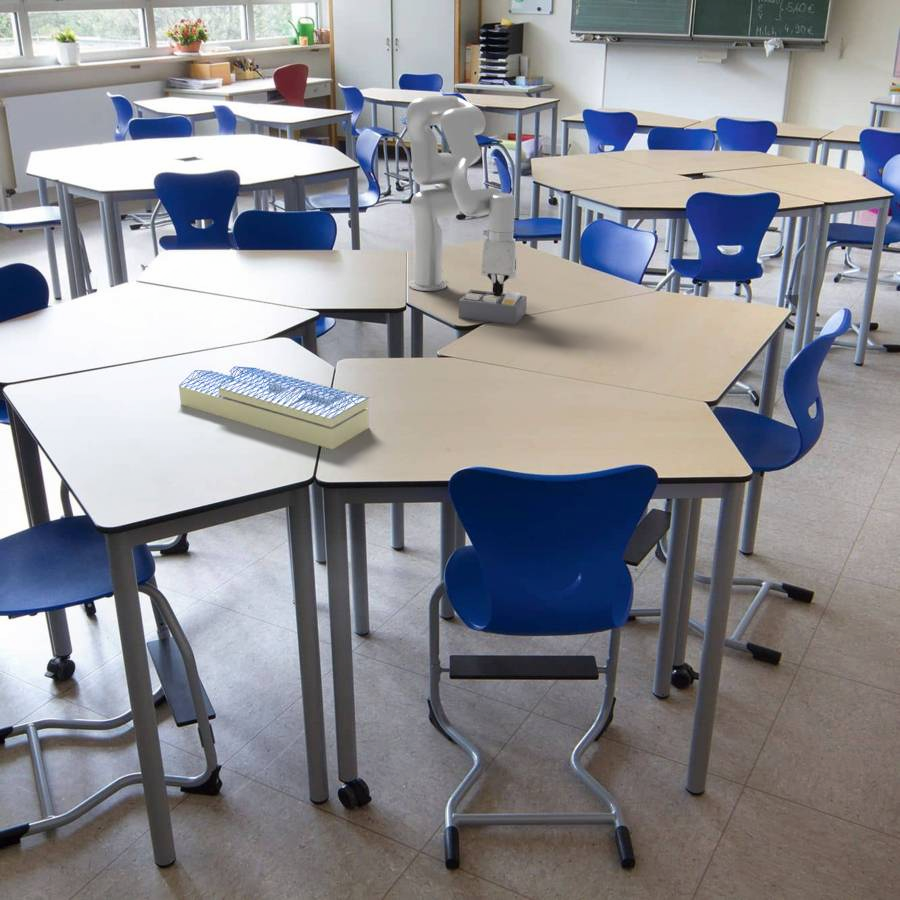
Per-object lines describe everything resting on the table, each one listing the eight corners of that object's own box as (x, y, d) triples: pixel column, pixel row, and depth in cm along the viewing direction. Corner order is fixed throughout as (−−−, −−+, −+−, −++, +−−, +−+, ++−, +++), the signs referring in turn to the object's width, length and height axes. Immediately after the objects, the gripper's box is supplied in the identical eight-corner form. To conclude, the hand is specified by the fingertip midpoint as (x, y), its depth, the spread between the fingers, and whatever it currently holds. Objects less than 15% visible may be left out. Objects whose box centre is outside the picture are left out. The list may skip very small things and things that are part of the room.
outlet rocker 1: (473, 298, 305) (473, 293, 304) (485, 300, 304) (486, 294, 303) (465, 299, 297) (466, 293, 297) (478, 300, 296) (478, 294, 296)
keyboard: (370, 428, 225) (369, 386, 220) (330, 451, 213) (329, 408, 209) (222, 387, 245) (219, 347, 241) (179, 406, 233) (174, 365, 229)
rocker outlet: (507, 296, 301) (507, 291, 300) (520, 297, 300) (520, 292, 299) (500, 309, 295) (500, 304, 294) (513, 311, 294) (513, 306, 293)
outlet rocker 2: (490, 299, 303) (490, 294, 303) (502, 301, 302) (503, 295, 302) (483, 301, 296) (483, 296, 295) (495, 303, 295) (496, 297, 294)
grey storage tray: (470, 306, 308) (470, 289, 306) (525, 313, 304) (526, 296, 301) (458, 317, 298) (459, 300, 296) (515, 324, 293) (516, 307, 291)
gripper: (473, 236, 292) (471, 295, 300) (522, 241, 288) (518, 301, 296) (479, 230, 299) (477, 289, 307) (527, 235, 295) (524, 294, 303)
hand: (497, 295), depth 301 cm, fingers closed
